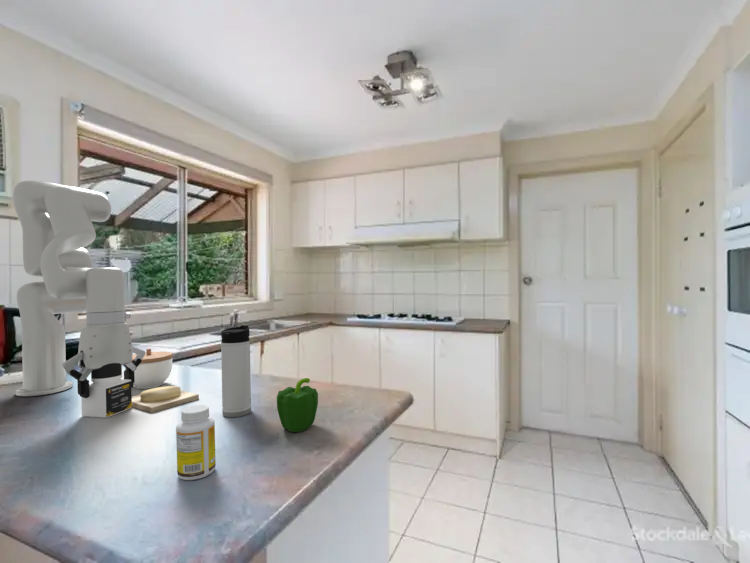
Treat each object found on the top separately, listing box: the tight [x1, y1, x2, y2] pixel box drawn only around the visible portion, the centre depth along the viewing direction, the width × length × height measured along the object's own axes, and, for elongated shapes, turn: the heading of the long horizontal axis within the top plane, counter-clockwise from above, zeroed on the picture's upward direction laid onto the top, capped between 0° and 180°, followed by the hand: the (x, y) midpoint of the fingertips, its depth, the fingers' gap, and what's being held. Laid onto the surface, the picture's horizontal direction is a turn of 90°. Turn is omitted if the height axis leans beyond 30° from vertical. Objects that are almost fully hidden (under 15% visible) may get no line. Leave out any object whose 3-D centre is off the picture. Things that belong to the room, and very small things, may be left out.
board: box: [132, 385, 200, 414], centre depth 99 cm, size 14×12×3 cm
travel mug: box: [220, 324, 252, 418], centre depth 89 cm, size 6×7×20 cm
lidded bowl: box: [124, 348, 174, 390], centre depth 115 cm, size 13×13×11 cm
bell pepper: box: [276, 377, 319, 433], centre depth 79 cm, size 8×8×10 cm
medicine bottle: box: [80, 363, 133, 419], centre depth 91 cm, size 7×7×12 cm
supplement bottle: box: [175, 404, 217, 481], centre depth 61 cm, size 6×6×10 cm
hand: (107, 391), depth 91 cm, fingers closed on medicine bottle, 9 cm apart
